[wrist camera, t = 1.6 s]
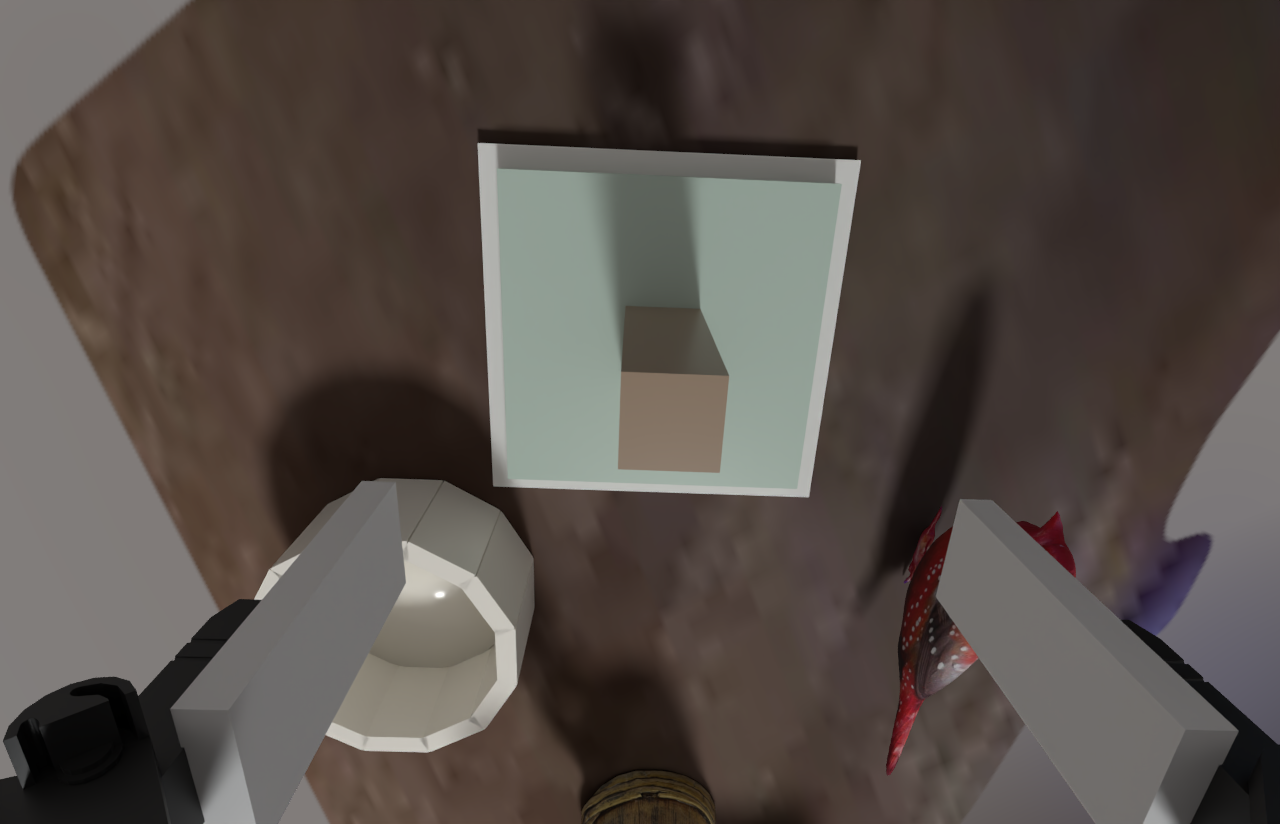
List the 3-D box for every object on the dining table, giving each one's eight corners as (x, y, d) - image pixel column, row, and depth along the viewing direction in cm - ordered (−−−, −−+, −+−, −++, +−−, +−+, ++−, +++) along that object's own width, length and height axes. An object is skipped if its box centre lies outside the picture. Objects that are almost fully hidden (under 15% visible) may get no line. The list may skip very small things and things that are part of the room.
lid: (835, 183, 29) (942, 196, 19) (792, 480, 35) (858, 614, 24) (501, 168, 29) (427, 174, 19) (511, 470, 34) (458, 602, 24)
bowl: (532, 483, 35) (512, 544, 30) (535, 671, 40) (519, 754, 34) (290, 474, 35) (224, 535, 29) (322, 665, 40) (271, 748, 34)
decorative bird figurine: (994, 443, 35) (1127, 548, 25) (873, 693, 41) (943, 851, 32) (943, 431, 34) (1059, 533, 25) (830, 684, 41) (888, 842, 31)
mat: (857, 160, 29) (860, 160, 29) (806, 492, 36) (808, 497, 35) (480, 143, 29) (477, 142, 29) (495, 482, 35) (493, 486, 35)
